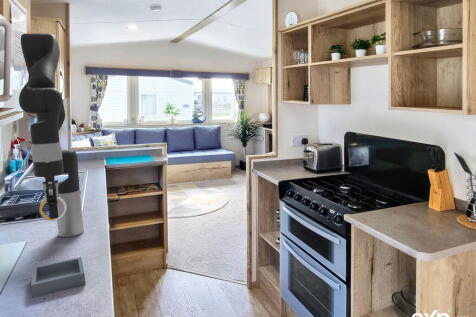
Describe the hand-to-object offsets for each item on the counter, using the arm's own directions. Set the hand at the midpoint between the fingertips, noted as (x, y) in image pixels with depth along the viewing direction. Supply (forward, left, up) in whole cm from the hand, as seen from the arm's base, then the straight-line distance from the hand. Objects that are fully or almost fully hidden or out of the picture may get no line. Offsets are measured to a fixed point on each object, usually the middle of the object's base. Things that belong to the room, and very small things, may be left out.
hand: (54, 217), depth 104 cm
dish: (+5, 0, -18) cm, 18 cm away
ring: (0, 0, -1) cm, 1 cm away
